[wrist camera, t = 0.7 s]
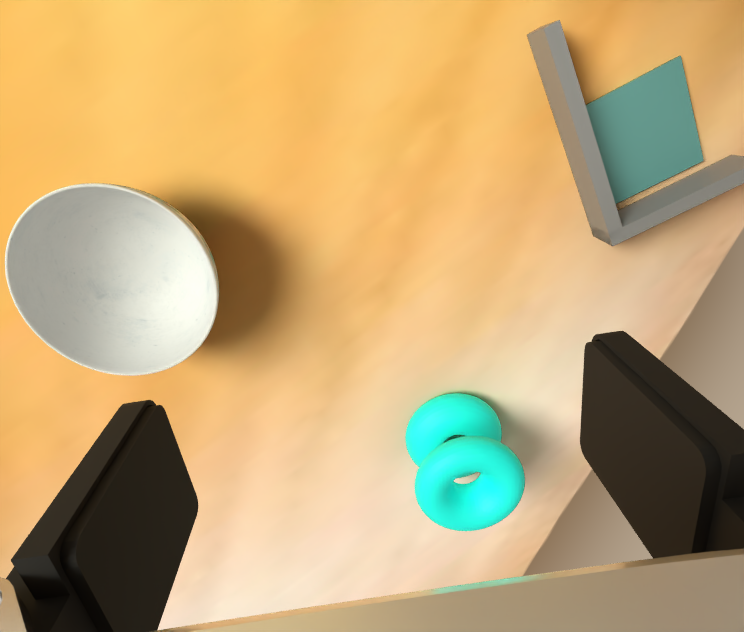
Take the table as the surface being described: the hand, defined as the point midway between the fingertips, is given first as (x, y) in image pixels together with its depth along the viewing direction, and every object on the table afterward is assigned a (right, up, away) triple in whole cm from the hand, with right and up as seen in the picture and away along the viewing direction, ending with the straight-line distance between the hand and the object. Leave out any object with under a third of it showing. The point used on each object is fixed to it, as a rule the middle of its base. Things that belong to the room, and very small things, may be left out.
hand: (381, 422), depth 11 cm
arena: (+22, +20, +30) cm, 42 cm away
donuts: (+8, -9, +42) cm, 44 cm away
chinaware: (-20, +8, +33) cm, 39 cm away
